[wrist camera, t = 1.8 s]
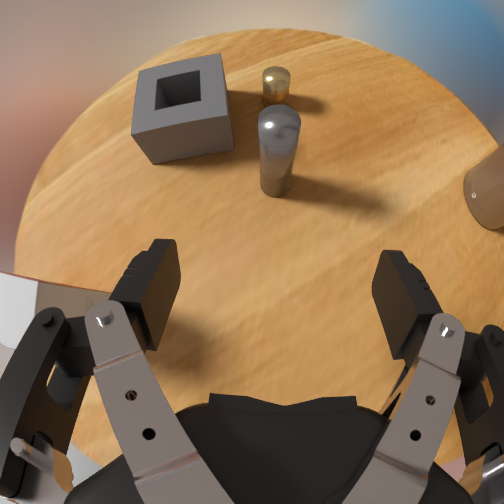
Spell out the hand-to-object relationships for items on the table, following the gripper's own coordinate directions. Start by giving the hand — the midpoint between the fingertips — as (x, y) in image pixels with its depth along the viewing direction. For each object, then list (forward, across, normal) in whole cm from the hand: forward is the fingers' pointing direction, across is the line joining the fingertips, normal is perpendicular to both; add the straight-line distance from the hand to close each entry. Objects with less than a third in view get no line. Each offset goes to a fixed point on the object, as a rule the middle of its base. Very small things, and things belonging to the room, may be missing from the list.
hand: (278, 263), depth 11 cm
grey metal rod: (+22, 0, +5) cm, 22 cm away
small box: (+11, +21, +17) cm, 29 cm away
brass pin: (+30, 0, -4) cm, 31 cm away
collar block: (+28, +10, -1) cm, 29 cm away
